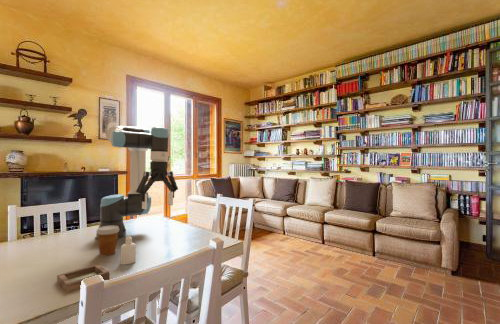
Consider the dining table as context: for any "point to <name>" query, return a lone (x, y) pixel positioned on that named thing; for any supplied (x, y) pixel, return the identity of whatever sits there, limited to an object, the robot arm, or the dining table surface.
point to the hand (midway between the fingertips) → (158, 207)
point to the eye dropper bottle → (128, 251)
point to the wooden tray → (80, 277)
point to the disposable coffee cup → (107, 239)
